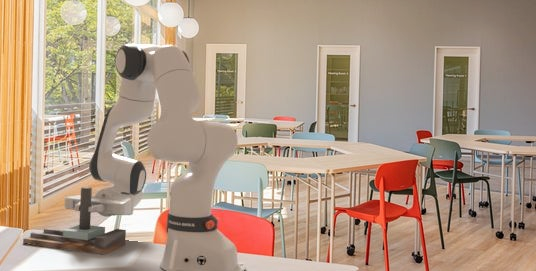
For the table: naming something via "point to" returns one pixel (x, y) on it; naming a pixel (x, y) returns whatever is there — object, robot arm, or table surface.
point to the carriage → (84, 220)
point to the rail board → (78, 241)
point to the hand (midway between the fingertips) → (83, 208)
